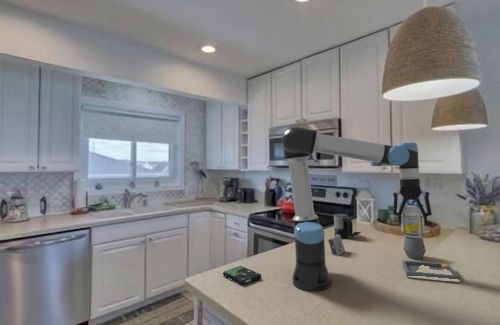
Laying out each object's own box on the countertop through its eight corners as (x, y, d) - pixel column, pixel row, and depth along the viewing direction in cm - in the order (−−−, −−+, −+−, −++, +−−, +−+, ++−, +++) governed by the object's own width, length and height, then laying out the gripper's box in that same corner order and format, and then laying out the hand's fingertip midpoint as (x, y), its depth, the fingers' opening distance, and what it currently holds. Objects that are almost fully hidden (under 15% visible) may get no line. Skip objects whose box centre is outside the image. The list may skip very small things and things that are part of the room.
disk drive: (262, 280, 119) (240, 271, 131) (261, 273, 119) (240, 265, 131) (242, 287, 113) (222, 277, 124) (242, 280, 113) (222, 270, 124)
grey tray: (407, 277, 114) (406, 271, 115) (402, 265, 128) (402, 260, 128) (460, 283, 108) (459, 276, 108) (449, 269, 122) (449, 264, 122)
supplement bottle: (412, 233, 125) (411, 204, 125) (426, 237, 118) (424, 206, 118) (400, 235, 123) (398, 206, 123) (413, 238, 116) (411, 208, 117)
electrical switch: (338, 256, 146) (336, 238, 147) (329, 255, 149) (327, 237, 150) (345, 251, 153) (342, 234, 154) (336, 251, 157) (334, 234, 157)
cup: (404, 259, 137) (403, 238, 137) (403, 253, 145) (402, 234, 146) (427, 261, 133) (426, 240, 133) (424, 255, 141) (423, 235, 142)
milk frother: (331, 237, 185) (330, 215, 185) (343, 233, 195) (342, 211, 196) (351, 241, 174) (350, 217, 175) (363, 236, 185) (362, 213, 185)
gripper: (434, 177, 121) (437, 230, 120) (383, 178, 128) (386, 228, 128) (438, 177, 114) (442, 234, 113) (384, 179, 121) (388, 232, 121)
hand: (412, 231), depth 120 cm, fingers closed on supplement bottle, 7 cm apart
